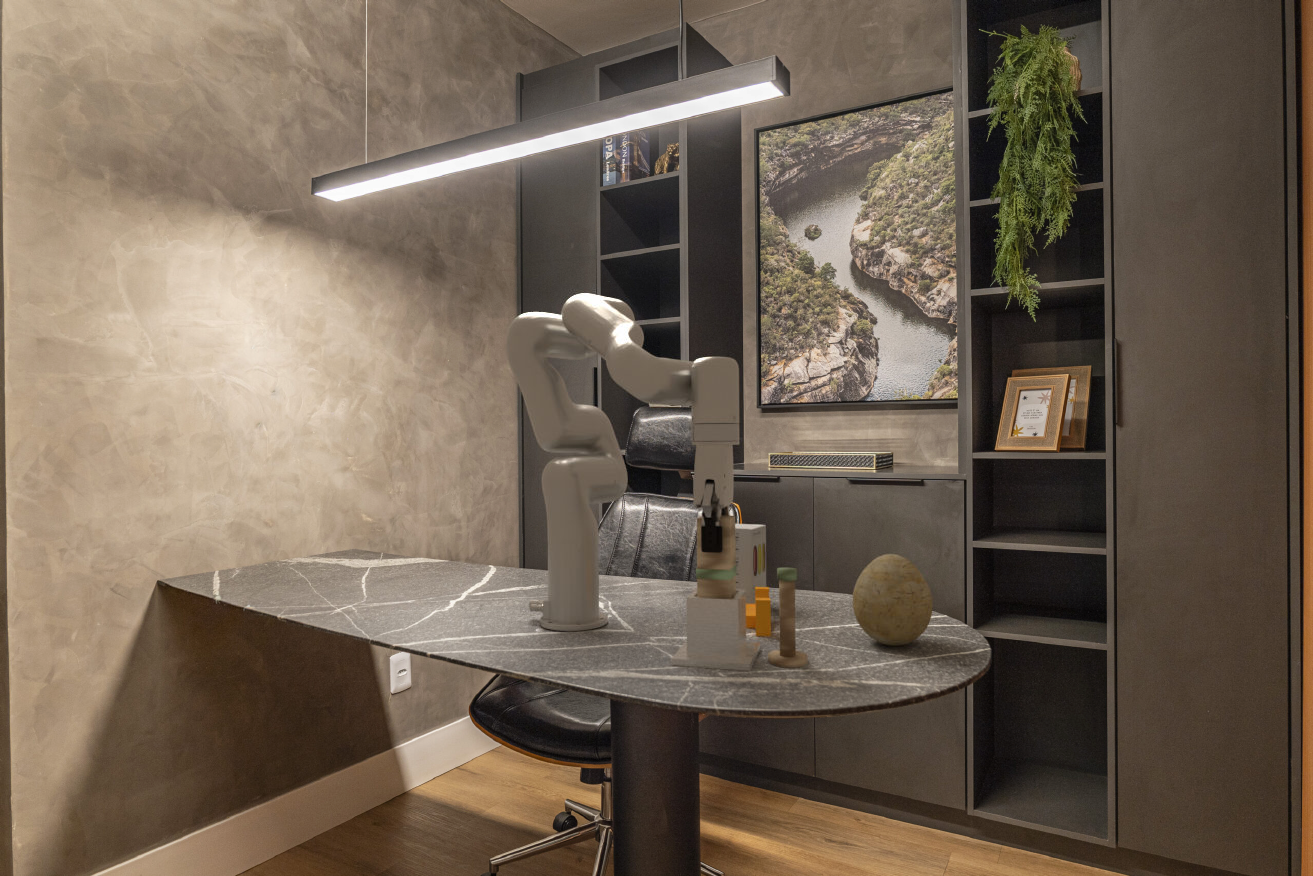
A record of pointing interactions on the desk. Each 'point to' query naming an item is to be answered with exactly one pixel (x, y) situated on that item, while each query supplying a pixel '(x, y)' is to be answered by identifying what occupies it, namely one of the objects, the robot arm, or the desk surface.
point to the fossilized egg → (892, 600)
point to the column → (717, 564)
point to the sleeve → (717, 634)
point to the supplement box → (750, 558)
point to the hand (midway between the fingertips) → (716, 547)
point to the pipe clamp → (760, 612)
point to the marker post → (787, 623)
